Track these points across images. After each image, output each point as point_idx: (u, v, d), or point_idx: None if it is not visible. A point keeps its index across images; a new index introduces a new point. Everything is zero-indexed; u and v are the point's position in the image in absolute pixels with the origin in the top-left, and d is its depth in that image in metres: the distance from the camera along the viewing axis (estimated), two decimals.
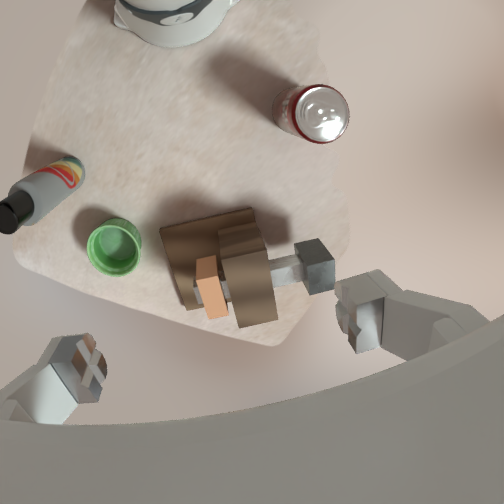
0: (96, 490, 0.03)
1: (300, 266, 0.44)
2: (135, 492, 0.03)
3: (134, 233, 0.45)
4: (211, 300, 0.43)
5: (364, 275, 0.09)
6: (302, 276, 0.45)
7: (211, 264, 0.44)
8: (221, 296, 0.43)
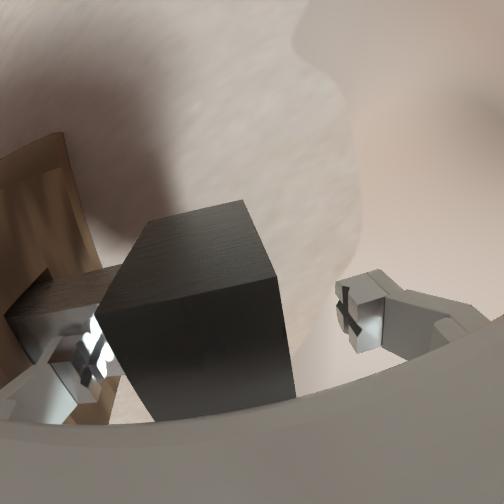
0: (96, 490, 0.03)
1: None
2: (136, 492, 0.03)
3: None
4: None
5: (365, 275, 0.09)
6: None
7: None
8: None
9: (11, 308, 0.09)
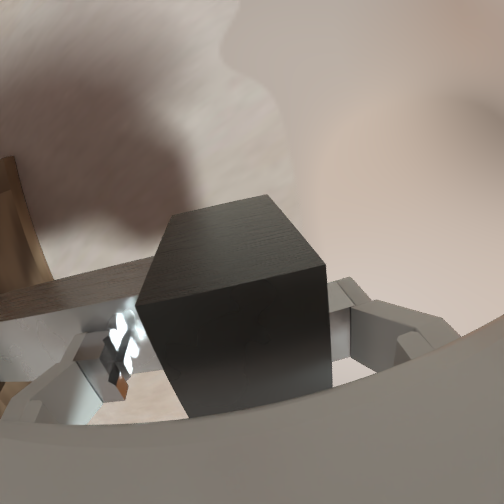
0: (96, 490, 0.03)
1: None
2: (136, 492, 0.03)
3: None
4: None
5: (334, 283, 0.09)
6: None
7: None
8: None
9: (27, 304, 0.09)
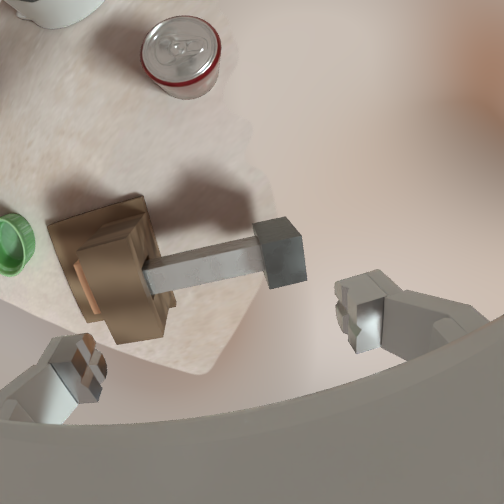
0: (96, 490, 0.03)
1: (256, 249, 0.33)
2: (135, 492, 0.03)
3: (22, 228, 0.34)
4: None
5: (364, 275, 0.09)
6: (260, 264, 0.33)
7: None
8: None
9: (202, 253, 0.33)
